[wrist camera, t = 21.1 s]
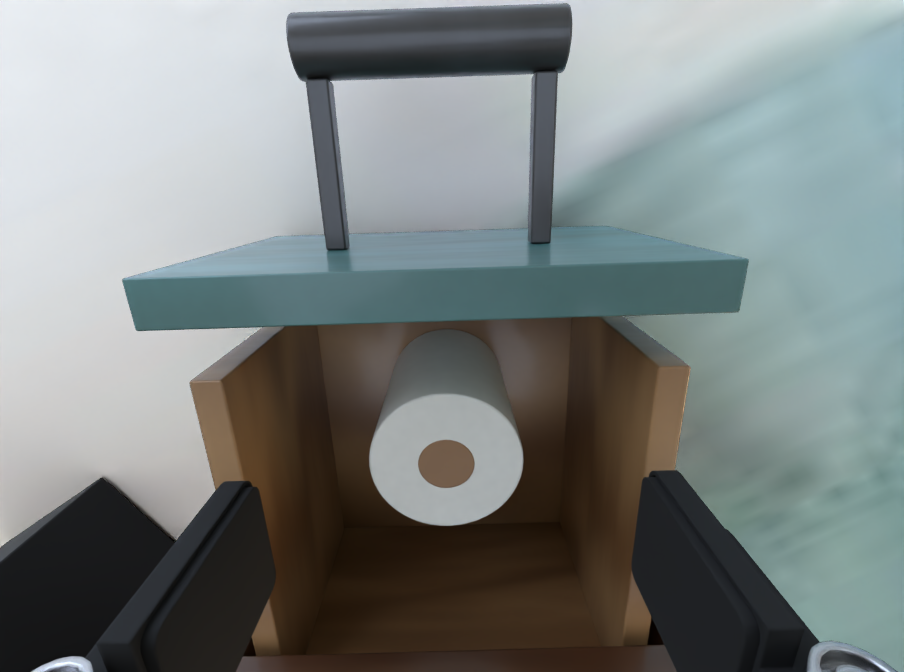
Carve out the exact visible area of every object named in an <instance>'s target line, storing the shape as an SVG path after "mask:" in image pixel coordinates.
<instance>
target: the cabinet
mask: <svg viewBox="0 0 904 672" xmlns="http://www.w3.org/2000/svg"><path fill="white" fill-rule="evenodd" d="M236 672H677V671H676V669H675V667H674V664H673V662H672V660H671V658H670V656H669V654H668V652H667V649H666V647H665V645H664V643H663V641H662V639H661V636H660V634H659V632H658V630H657V628H656V626H655V624H654V621H653V619H652V617H651V624H650V630H649V637H648V643H647V645H636V646H600V647H564V648H528V649H492V650H456V651H420V652H384V653H348V654H312V655H276V656H256V653H255V649H254V645H253V640H252V637H251V639H250V642H249V644H248V646H247V648H246V651H245V653H244V655H243V657H242V659H241V662H240V664H239V666H238V668H237V671H236Z"/></svg>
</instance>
